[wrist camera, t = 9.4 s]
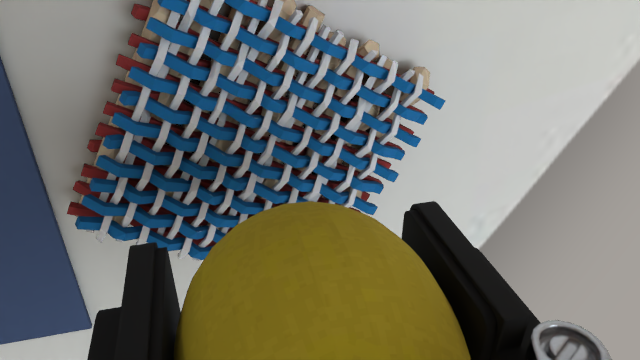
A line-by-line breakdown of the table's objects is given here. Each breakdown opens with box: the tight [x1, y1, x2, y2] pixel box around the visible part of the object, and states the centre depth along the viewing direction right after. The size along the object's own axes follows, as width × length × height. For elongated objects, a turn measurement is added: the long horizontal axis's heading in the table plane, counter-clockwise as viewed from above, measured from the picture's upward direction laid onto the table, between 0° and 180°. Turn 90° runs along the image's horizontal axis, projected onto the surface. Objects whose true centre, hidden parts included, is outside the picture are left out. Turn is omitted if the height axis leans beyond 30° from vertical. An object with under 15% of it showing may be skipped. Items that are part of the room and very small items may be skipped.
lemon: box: [174, 201, 471, 360], centre depth 10 cm, size 6×6×8 cm
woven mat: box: [67, 0, 445, 260], centre depth 17 cm, size 10×11×2 cm
